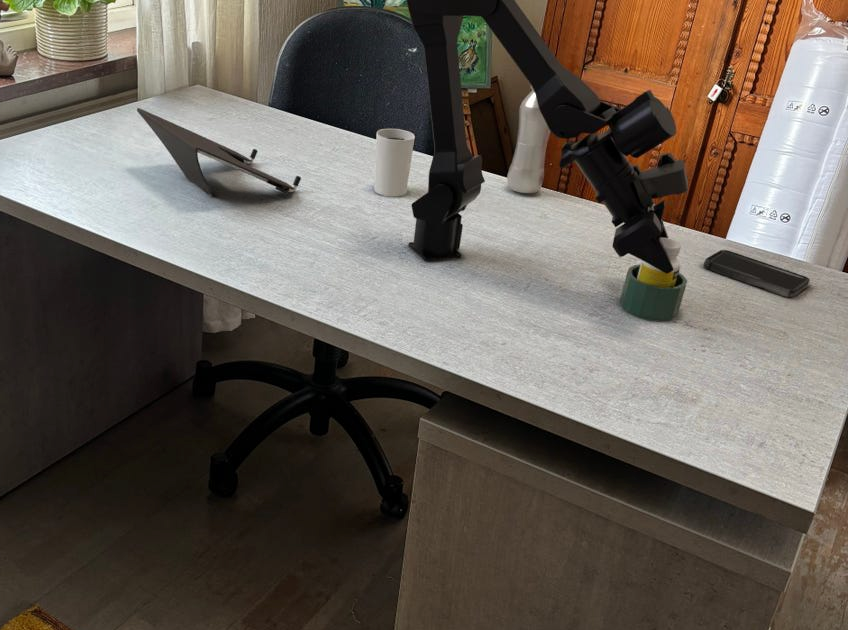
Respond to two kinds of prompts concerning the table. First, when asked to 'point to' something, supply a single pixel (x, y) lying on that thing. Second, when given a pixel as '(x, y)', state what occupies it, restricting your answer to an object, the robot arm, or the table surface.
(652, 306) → the crock
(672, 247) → the supplement bottle
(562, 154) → the robot arm
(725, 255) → the phone
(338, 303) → the table surface
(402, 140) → the white cup
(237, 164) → the laptop stand
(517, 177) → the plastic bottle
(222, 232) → the table surface
